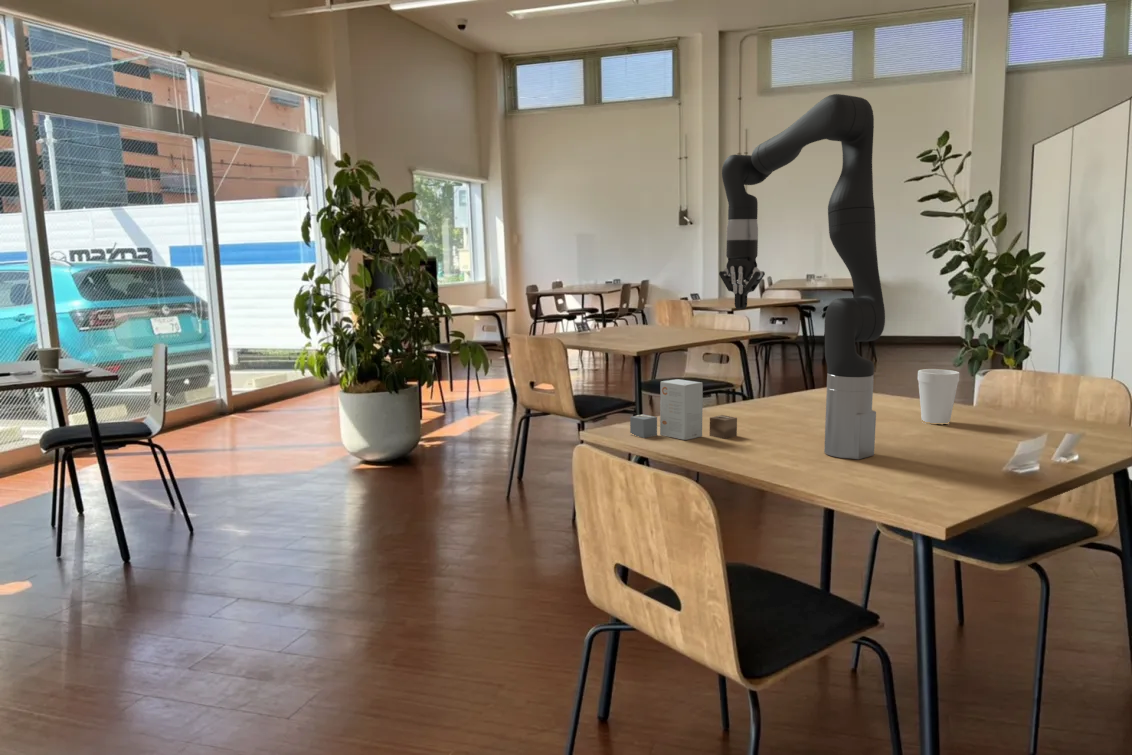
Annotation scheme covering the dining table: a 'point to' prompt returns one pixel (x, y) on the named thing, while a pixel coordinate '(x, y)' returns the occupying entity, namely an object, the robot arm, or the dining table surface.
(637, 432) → the slate block seven
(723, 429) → the walnut block one
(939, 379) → the foam cup
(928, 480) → the dining table surface
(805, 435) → the dining table surface
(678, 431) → the small box
